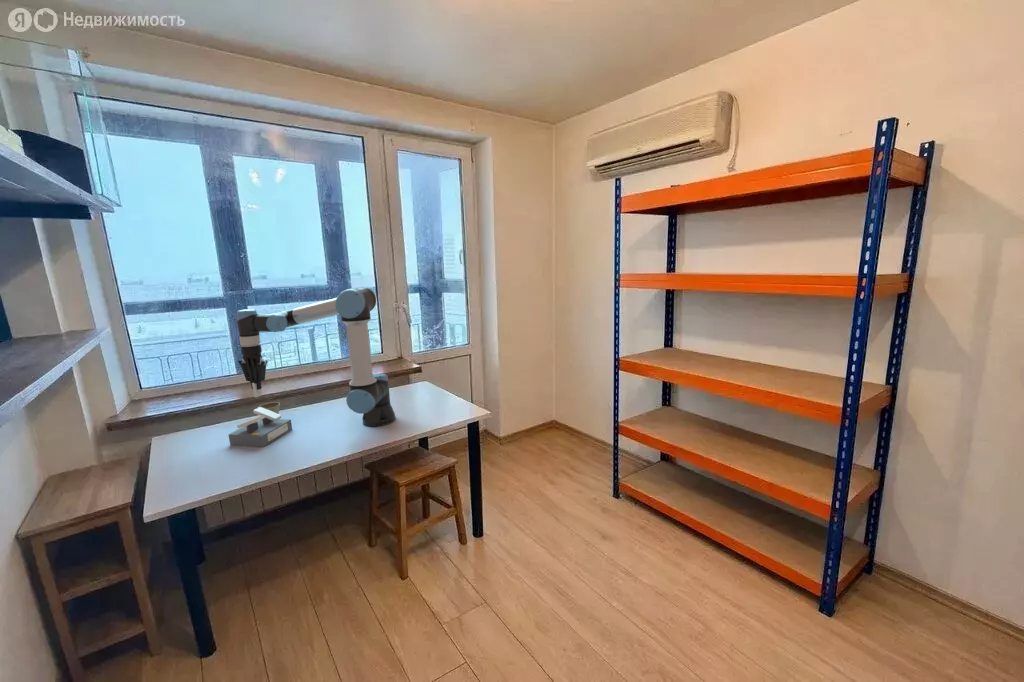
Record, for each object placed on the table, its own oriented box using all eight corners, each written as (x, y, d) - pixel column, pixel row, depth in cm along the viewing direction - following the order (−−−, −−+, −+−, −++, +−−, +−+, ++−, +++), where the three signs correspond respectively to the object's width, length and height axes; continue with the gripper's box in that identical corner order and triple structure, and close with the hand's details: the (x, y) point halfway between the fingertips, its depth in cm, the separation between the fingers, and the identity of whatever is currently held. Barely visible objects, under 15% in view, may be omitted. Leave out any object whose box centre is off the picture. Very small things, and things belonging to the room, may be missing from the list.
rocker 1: (265, 417, 178) (263, 414, 178) (258, 421, 174) (256, 418, 174) (245, 424, 181) (244, 422, 180) (238, 428, 177) (236, 425, 177)
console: (293, 429, 191) (290, 413, 189) (264, 447, 173) (261, 429, 172) (261, 428, 193) (259, 411, 192) (230, 445, 176) (227, 427, 174)
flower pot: (256, 424, 199) (253, 407, 197) (274, 417, 207) (272, 400, 205) (267, 427, 195) (265, 410, 193) (286, 420, 203) (284, 403, 201)
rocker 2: (281, 417, 188) (281, 415, 187) (274, 421, 184) (275, 418, 183) (259, 409, 188) (260, 406, 188) (253, 412, 185) (253, 409, 184)
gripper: (270, 343, 183) (276, 394, 187) (244, 342, 185) (251, 392, 189) (257, 347, 175) (264, 399, 180) (230, 346, 177) (238, 398, 182)
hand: (257, 396), depth 185 cm, fingers closed
